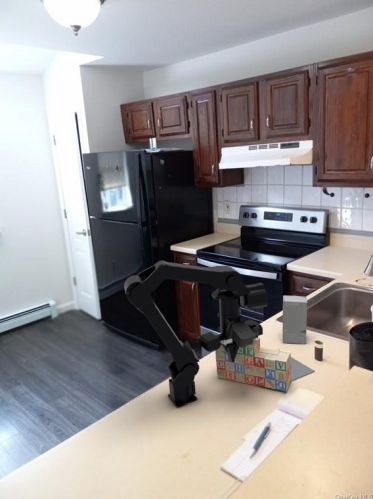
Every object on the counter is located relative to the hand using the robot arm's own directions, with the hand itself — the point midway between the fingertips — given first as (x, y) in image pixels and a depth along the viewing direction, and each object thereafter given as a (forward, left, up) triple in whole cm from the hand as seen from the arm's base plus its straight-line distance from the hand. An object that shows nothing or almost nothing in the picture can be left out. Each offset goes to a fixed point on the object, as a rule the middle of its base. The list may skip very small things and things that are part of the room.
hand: (232, 362), depth 107 cm
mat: (+18, +1, -8) cm, 20 cm away
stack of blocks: (+7, 0, -8) cm, 11 cm away
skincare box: (+35, +12, -9) cm, 38 cm away
